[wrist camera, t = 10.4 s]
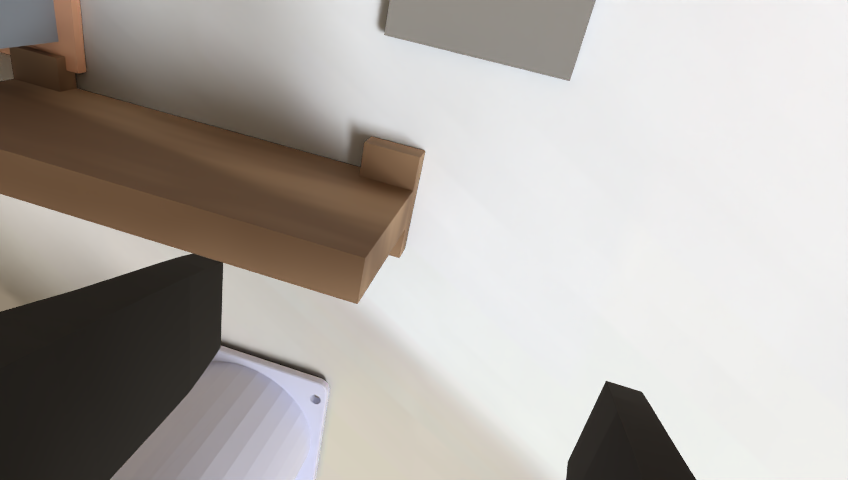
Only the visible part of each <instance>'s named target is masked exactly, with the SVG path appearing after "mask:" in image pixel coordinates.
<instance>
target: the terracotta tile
mask: <svg viewBox="0 0 848 480" xmlns="http://www.w3.org/2000/svg"><path fill="white" fill-rule="evenodd" d="M53 2H54V10H55V18H56V26H57V33H58V41H59V42H52V43H44V44H36V45H27V47H31V48H34V49H38V50H42V51H45V52H49V53H53V54H56V55H60V56H64V57H65V61H66V70H67V71H71V72H74V73H84V72H86V63H85V52H84V41H83V30H82V19H81V8H80V0H53ZM0 52H2V53H5V54H9V55H10V49H9V48H3V49H0Z"/></svg>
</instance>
